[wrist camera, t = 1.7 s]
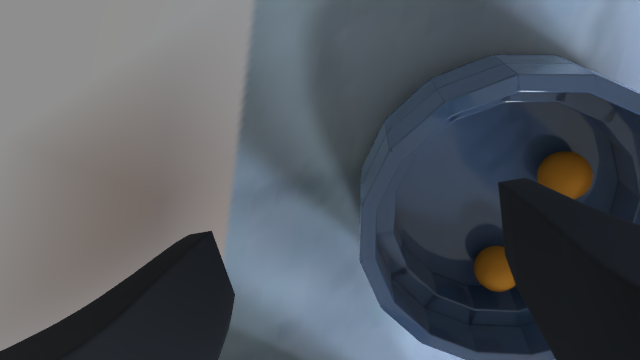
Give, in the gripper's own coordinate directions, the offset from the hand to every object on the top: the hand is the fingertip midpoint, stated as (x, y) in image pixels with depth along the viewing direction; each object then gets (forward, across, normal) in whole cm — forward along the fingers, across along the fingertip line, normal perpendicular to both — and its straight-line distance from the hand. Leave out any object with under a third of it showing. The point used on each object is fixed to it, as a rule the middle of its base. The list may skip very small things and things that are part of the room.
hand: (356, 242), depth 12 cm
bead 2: (+8, -8, +3) cm, 12 cm away
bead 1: (+8, -5, +7) cm, 12 cm away
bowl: (+10, -5, +4) cm, 12 cm away
